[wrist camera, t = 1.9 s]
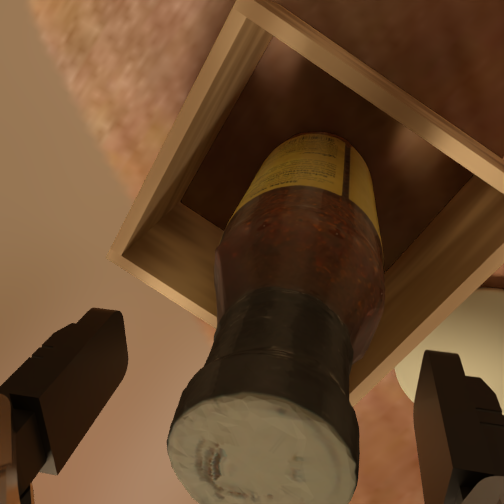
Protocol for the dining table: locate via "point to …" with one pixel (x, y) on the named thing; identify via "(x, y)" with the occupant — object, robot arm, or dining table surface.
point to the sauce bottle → (286, 334)
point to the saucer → (466, 342)
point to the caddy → (209, 235)
